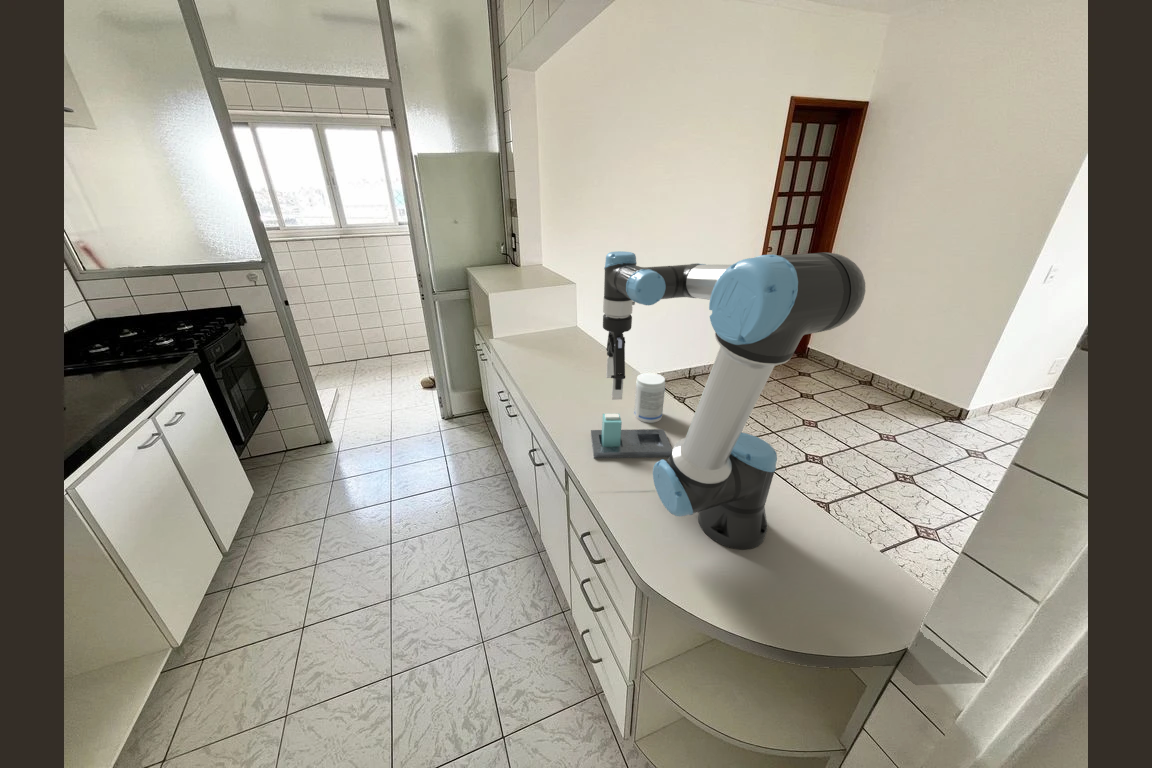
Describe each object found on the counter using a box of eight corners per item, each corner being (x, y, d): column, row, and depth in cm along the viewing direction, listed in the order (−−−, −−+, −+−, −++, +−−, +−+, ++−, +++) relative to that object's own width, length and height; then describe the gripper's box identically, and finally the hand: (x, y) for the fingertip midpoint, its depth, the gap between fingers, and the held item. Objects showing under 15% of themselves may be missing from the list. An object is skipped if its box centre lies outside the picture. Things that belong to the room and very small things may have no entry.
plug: (619, 450, 122) (621, 419, 118) (602, 451, 122) (604, 420, 117) (617, 441, 127) (619, 411, 122) (601, 441, 127) (602, 411, 122)
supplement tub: (667, 419, 140) (672, 380, 134) (646, 427, 135) (650, 387, 129) (648, 407, 147) (651, 370, 141) (627, 414, 143) (630, 376, 136)
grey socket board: (672, 458, 120) (673, 451, 119) (593, 459, 119) (593, 452, 118) (662, 435, 131) (663, 429, 130) (590, 436, 130) (590, 430, 129)
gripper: (640, 329, 95) (634, 409, 105) (625, 301, 118) (620, 369, 127) (608, 329, 95) (605, 409, 104) (598, 301, 117) (596, 369, 127)
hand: (613, 387), depth 116 cm, fingers open, 13 cm apart
